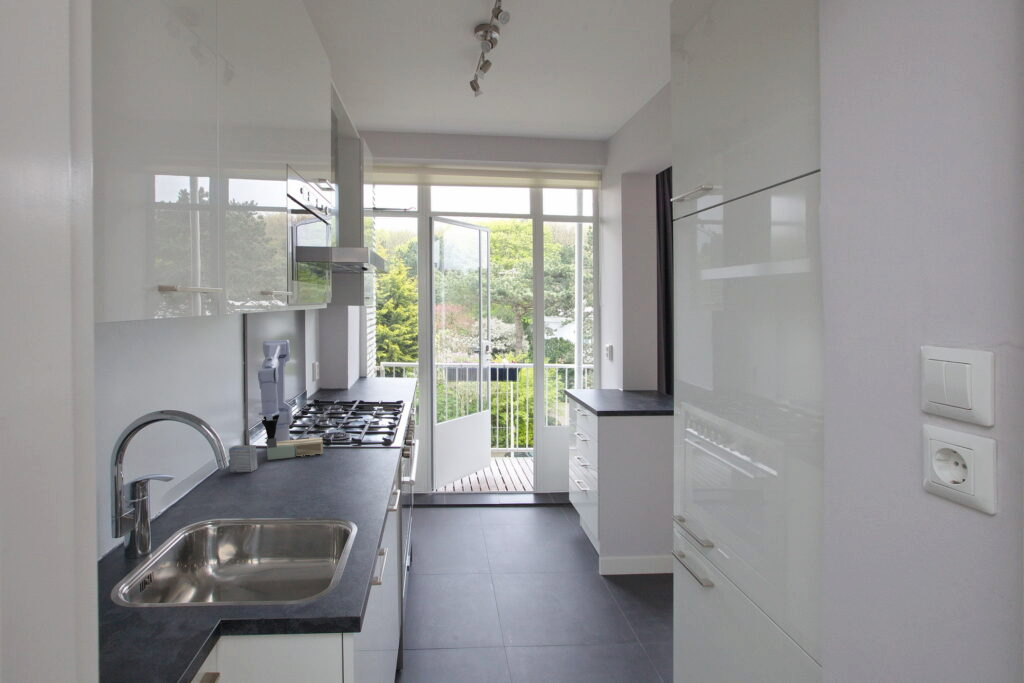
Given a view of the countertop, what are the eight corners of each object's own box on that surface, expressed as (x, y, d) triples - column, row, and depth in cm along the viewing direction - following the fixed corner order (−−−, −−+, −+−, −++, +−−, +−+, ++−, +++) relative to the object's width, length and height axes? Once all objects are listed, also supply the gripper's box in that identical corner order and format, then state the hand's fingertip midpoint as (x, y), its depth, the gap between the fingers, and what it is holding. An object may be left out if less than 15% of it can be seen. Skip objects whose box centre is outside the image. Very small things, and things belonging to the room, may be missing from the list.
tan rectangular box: (268, 455, 240) (268, 442, 240) (322, 449, 246) (322, 437, 246) (267, 459, 232) (266, 446, 232) (323, 454, 238) (322, 441, 238)
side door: (268, 459, 232) (266, 438, 231) (296, 456, 235) (294, 435, 235) (267, 460, 231) (266, 438, 230) (296, 457, 234) (294, 436, 233)
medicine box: (258, 469, 220) (256, 445, 219) (251, 472, 215) (250, 448, 215) (236, 469, 220) (235, 445, 220) (230, 472, 216) (228, 448, 215)
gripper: (259, 398, 236) (261, 433, 237) (256, 404, 222) (258, 441, 223) (279, 397, 238) (281, 432, 239) (277, 402, 225) (279, 439, 225)
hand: (271, 436), depth 231 cm, fingers open, 7 cm apart
